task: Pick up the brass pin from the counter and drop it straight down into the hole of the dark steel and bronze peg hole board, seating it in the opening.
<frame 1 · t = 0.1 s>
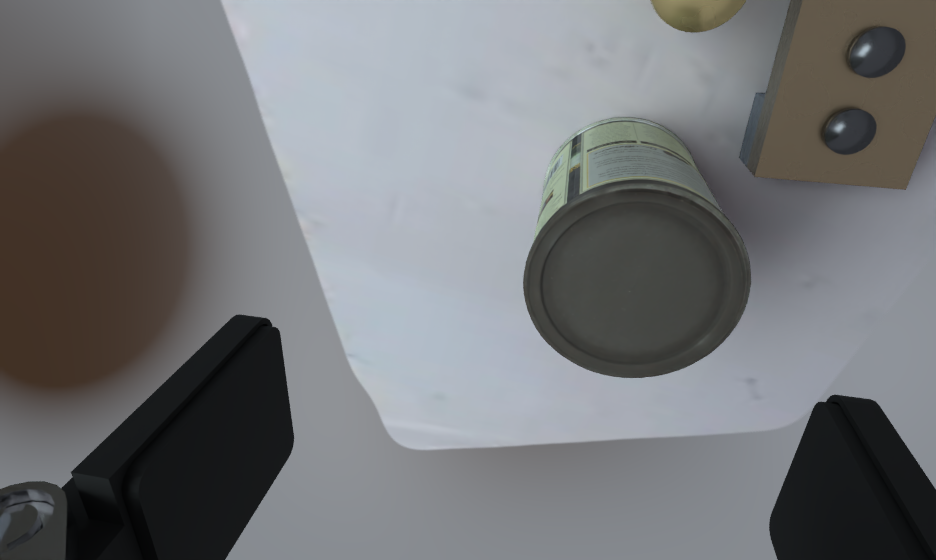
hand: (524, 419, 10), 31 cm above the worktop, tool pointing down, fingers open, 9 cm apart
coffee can: (619, 191, 40), on the worktop
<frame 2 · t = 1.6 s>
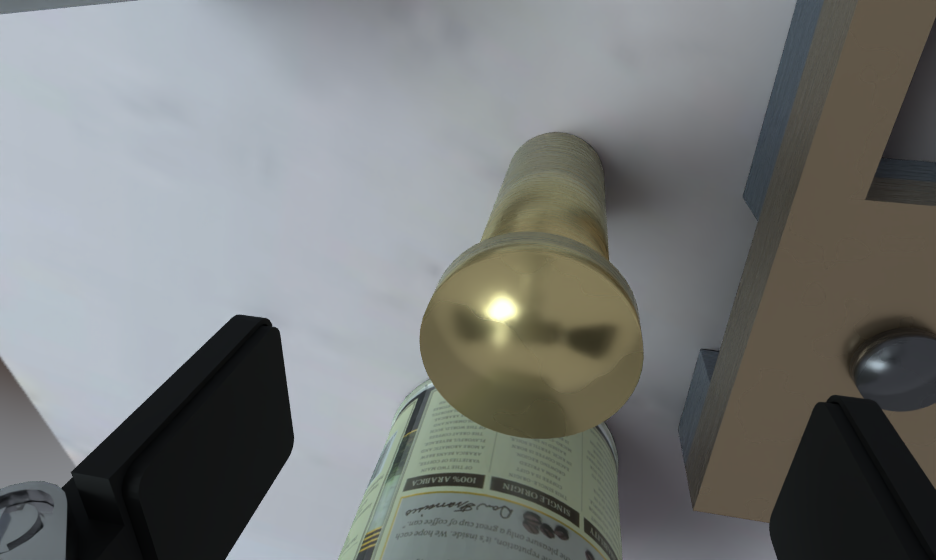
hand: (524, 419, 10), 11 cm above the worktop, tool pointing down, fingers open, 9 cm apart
peg hole board: (931, 75, 16), on the worktop
pin: (554, 180, 20), on the worktop
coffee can: (502, 452, 26), on the worktop
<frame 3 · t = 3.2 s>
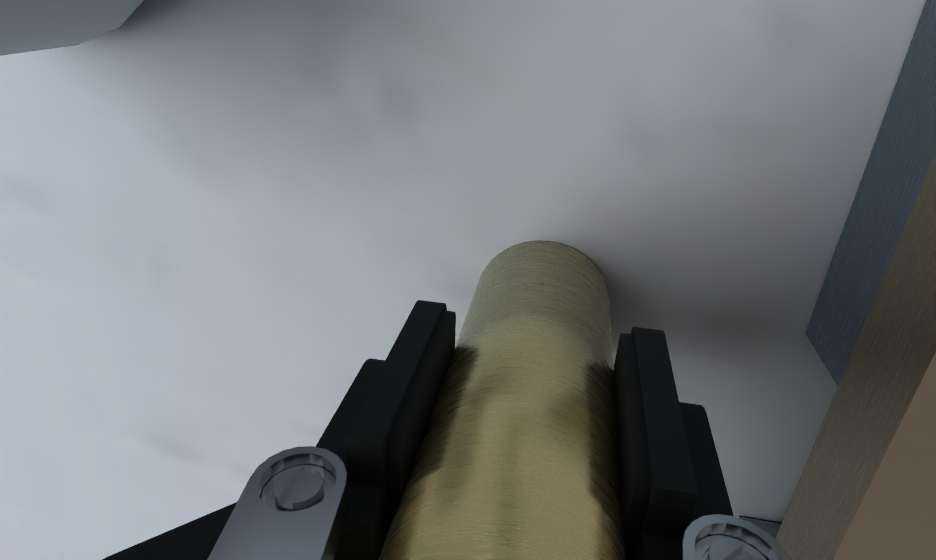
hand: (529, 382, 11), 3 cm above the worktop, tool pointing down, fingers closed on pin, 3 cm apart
pin: (541, 301, 14), on the worktop, touching gripper
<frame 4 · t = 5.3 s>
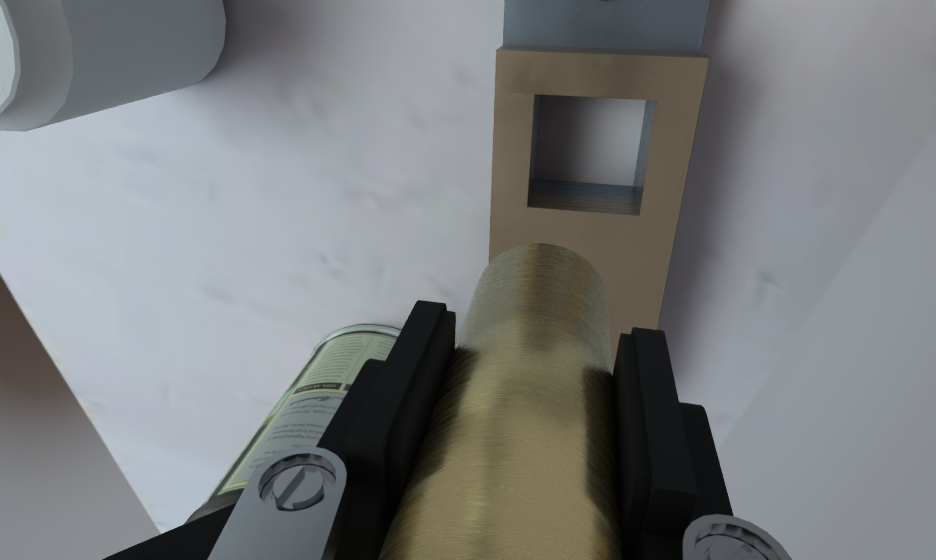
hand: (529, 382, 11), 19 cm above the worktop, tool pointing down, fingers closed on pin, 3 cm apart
peg hole board: (588, 134, 28), on the worktop
can: (167, 6, 29), on the worktop
pin: (540, 303, 14), point 16 cm above the worktop, touching gripper
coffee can: (384, 389, 38), on the worktop
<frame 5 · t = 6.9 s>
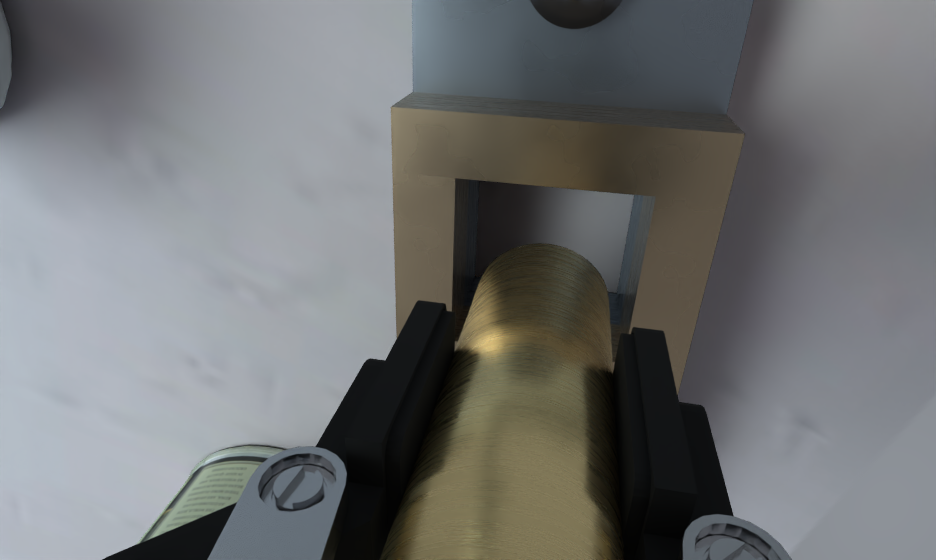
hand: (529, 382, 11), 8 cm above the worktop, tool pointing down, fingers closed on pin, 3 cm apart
peg hole board: (551, 219, 19), on the worktop
pin: (541, 303, 14), point 5 cm above the worktop, touching gripper
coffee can: (288, 520, 28), on the worktop
when the fingers open (5 cm above the worktop, at t = 7.9 s): pin drops 1 cm, resting in peg hole board.
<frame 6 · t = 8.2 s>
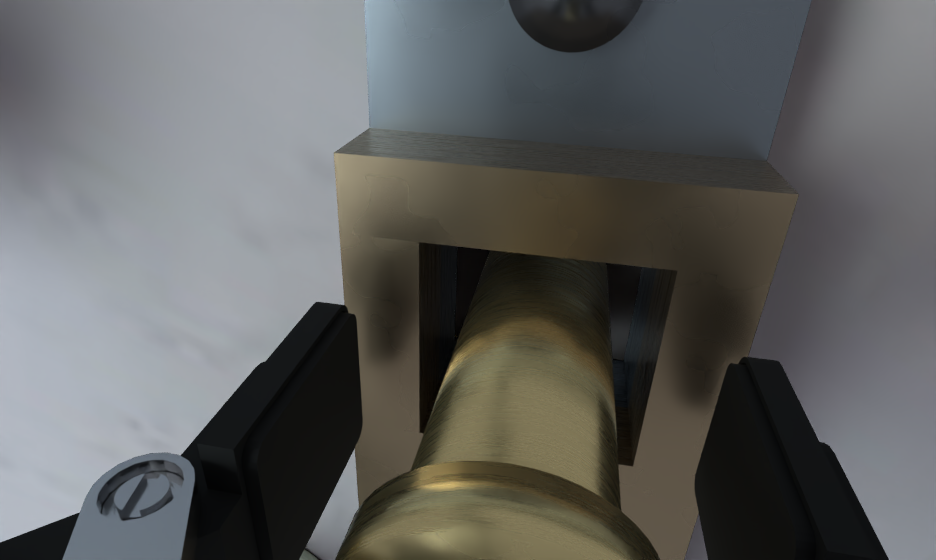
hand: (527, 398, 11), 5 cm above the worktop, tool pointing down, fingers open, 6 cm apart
peg hole board: (545, 274, 16), on the worktop
pin: (545, 275, 16), resting in peg hole board
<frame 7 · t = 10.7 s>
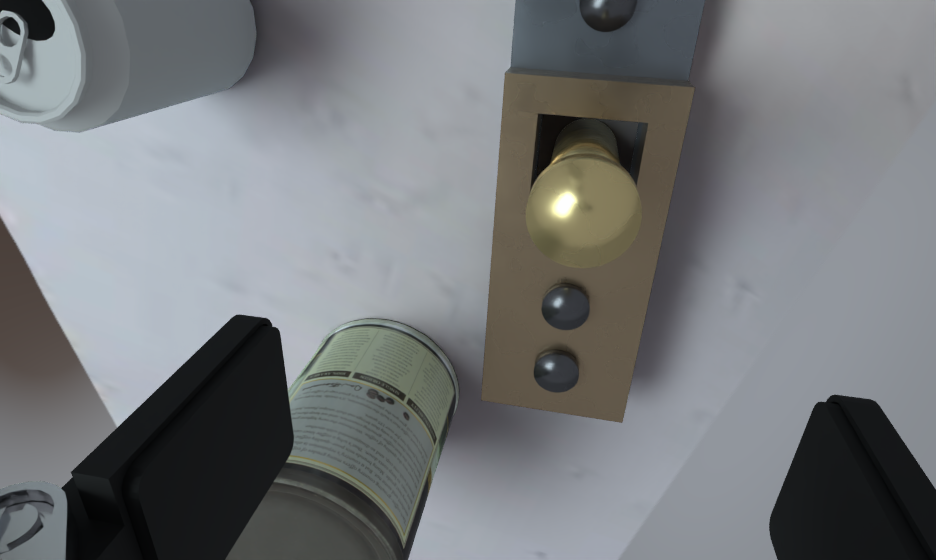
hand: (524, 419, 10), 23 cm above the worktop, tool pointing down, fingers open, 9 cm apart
peg hole board: (585, 149, 30), on the worktop
can: (201, 18, 31), on the worktop
pin: (585, 149, 30), resting in peg hole board
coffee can: (387, 380, 40), on the worktop
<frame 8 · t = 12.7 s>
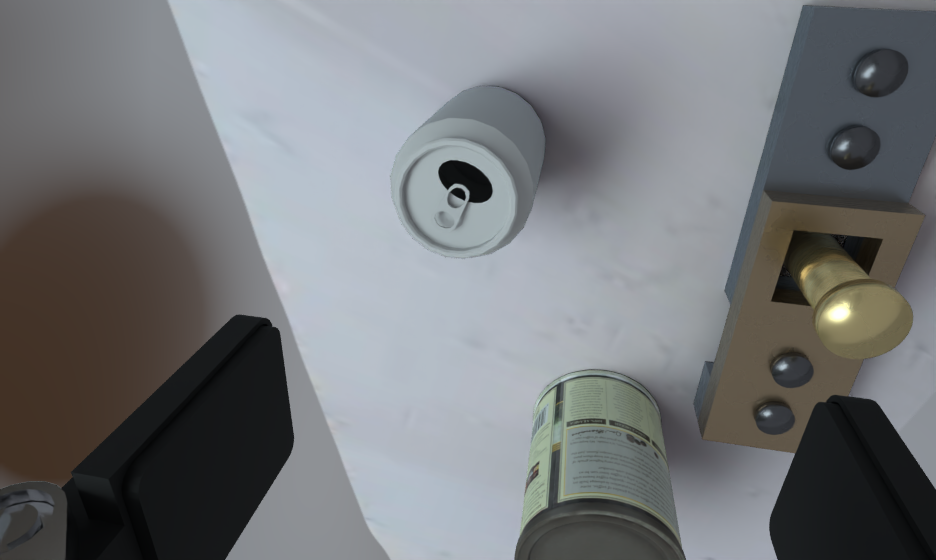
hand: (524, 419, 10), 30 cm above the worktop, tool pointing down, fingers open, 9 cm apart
peg hole board: (803, 244, 38), on the worktop
can: (490, 141, 39), on the worktop
pin: (802, 244, 38), resting in peg hole board
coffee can: (596, 418, 48), on the worktop
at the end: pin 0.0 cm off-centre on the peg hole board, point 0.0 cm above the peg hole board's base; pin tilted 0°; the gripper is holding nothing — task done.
